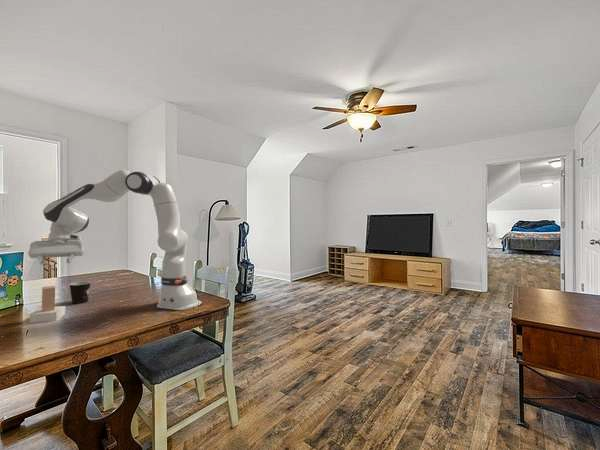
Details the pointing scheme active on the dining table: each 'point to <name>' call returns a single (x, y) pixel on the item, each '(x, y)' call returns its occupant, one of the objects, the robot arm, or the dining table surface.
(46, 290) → the tan rectangular block
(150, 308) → the dining table surface
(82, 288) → the coffee mug
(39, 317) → the cream block
